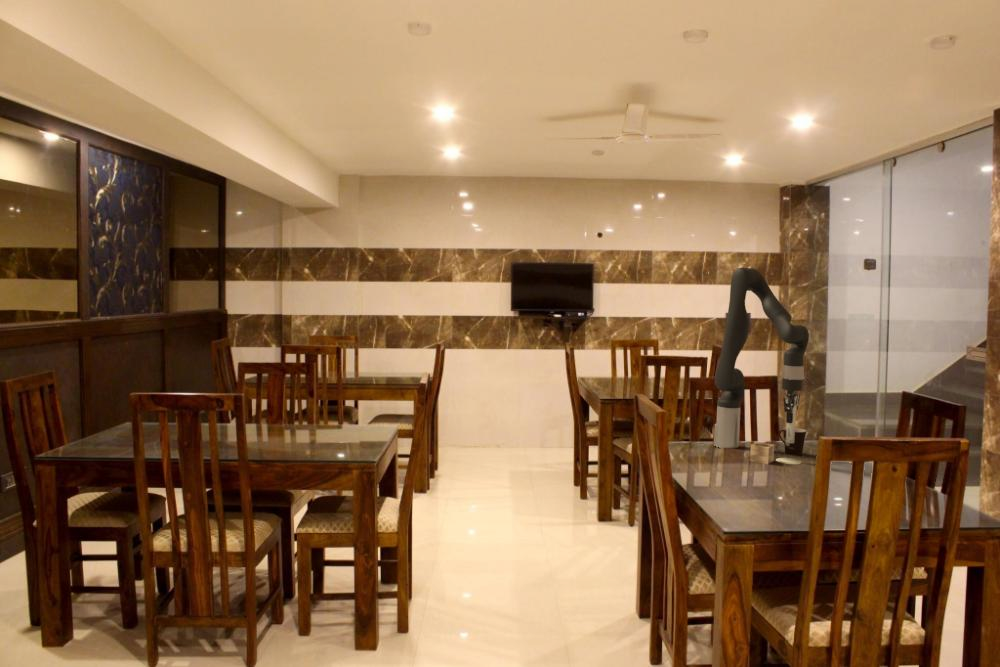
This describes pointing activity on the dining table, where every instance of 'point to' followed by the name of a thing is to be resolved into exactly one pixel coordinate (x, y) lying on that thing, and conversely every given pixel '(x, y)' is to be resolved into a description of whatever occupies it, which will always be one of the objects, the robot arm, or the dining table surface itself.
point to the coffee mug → (798, 443)
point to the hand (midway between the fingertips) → (790, 422)
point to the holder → (761, 453)
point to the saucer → (788, 461)
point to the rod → (791, 429)
